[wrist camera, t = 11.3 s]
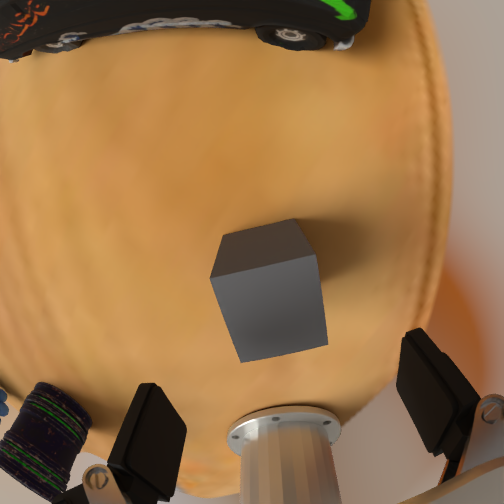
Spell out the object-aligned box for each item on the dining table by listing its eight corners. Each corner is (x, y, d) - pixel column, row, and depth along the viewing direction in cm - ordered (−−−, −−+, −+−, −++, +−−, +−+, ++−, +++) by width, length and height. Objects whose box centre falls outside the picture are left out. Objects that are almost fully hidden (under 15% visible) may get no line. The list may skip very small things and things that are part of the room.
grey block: (307, 288, 18) (328, 344, 13) (243, 302, 19) (240, 362, 13) (294, 218, 17) (315, 254, 11) (223, 235, 17) (209, 278, 11)
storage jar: (43, 372, 23) (-9, 458, 9) (103, 421, 26) (69, 511, 12) (30, 391, 25) (-10, 459, 11) (79, 431, 28) (50, 502, 14)
